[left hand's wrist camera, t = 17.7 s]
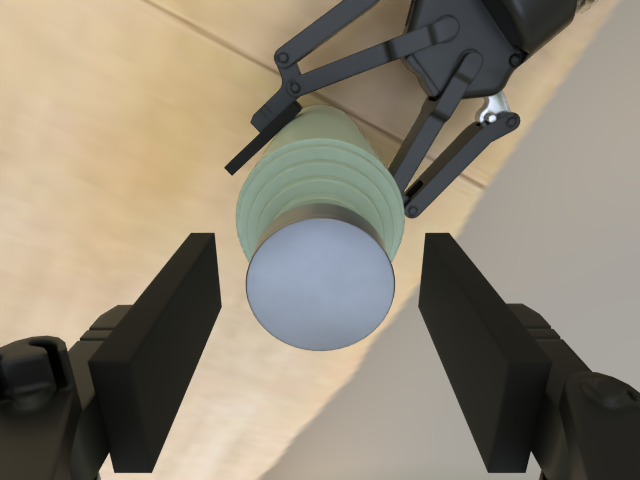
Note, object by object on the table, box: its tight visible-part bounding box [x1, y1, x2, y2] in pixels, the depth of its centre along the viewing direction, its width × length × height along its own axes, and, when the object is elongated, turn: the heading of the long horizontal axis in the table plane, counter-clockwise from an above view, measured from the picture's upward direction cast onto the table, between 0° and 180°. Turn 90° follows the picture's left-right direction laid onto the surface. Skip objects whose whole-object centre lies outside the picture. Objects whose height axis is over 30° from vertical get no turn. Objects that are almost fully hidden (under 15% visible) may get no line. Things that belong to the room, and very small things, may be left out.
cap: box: [246, 203, 395, 351], centre depth 14 cm, size 4×4×2 cm
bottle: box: [236, 105, 405, 263], centre depth 25 cm, size 7×7×24 cm
